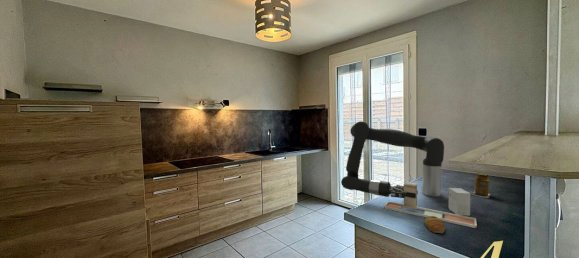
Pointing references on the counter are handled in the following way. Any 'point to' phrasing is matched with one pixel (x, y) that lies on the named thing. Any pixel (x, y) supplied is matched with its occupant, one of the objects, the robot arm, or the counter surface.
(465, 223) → the rail channel
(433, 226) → the pastry
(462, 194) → the small box
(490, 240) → the counter surface
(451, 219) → the pads
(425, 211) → the pad
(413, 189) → the beech block
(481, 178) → the condiment
